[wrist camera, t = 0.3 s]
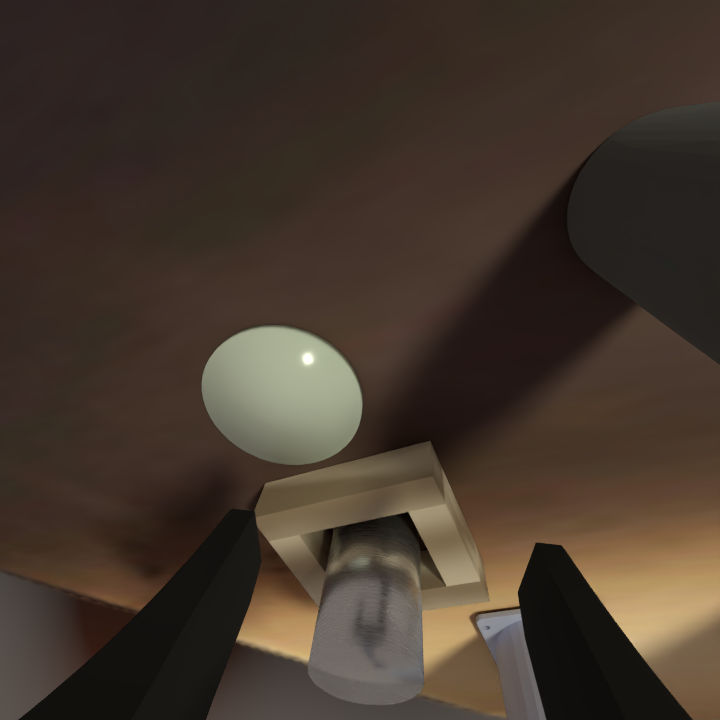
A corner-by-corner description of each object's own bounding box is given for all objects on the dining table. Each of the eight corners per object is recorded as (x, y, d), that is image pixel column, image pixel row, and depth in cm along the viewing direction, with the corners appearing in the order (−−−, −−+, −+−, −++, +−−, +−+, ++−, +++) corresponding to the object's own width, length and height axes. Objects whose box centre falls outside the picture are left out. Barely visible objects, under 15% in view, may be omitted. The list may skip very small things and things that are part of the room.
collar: (482, 560, 25) (489, 601, 23) (337, 585, 28) (331, 623, 26) (430, 440, 21) (432, 476, 19) (265, 483, 24) (251, 518, 22)
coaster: (386, 435, 21) (386, 443, 21) (256, 471, 23) (253, 478, 23) (320, 299, 18) (317, 305, 17) (176, 355, 20) (169, 361, 20)
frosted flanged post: (430, 541, 25) (439, 700, 18) (355, 555, 26) (337, 708, 19) (401, 484, 23) (398, 638, 16) (322, 503, 24) (287, 652, 17)
